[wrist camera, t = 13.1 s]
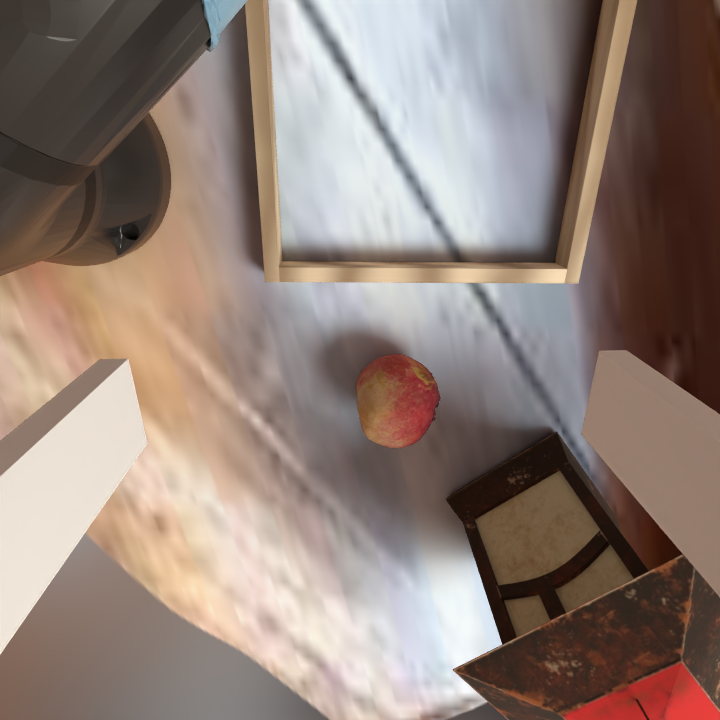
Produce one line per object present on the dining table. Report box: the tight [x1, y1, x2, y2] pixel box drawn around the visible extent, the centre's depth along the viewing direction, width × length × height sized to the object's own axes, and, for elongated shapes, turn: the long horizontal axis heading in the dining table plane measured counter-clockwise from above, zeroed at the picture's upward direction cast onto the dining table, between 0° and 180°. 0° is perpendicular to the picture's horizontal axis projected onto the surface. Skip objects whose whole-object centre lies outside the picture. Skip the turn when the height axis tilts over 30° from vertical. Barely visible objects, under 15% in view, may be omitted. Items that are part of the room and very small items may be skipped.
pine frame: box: [245, 0, 637, 283], centre depth 35 cm, size 26×23×2 cm
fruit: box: [356, 354, 440, 448], centre depth 42 cm, size 8×8×8 cm
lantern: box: [446, 432, 720, 720], centre depth 37 cm, size 18×26×30 cm
